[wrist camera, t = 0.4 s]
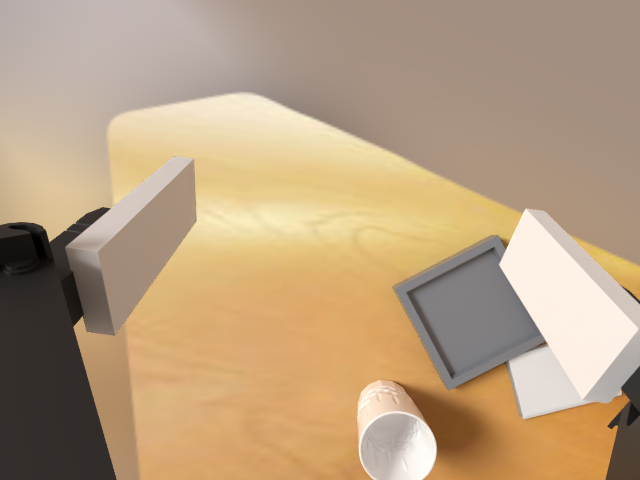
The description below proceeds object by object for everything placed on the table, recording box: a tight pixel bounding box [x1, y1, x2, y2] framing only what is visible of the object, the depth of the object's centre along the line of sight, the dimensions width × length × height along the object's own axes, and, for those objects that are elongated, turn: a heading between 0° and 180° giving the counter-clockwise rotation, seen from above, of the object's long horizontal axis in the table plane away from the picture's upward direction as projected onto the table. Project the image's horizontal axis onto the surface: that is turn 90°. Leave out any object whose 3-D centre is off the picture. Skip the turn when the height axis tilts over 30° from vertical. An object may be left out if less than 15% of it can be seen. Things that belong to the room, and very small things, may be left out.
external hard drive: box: [506, 344, 622, 419], centre depth 47 cm, size 2×8×12 cm
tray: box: [393, 235, 546, 390], centre depth 47 cm, size 14×14×2 cm
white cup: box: [358, 380, 437, 480], centre depth 43 cm, size 8×8×10 cm
